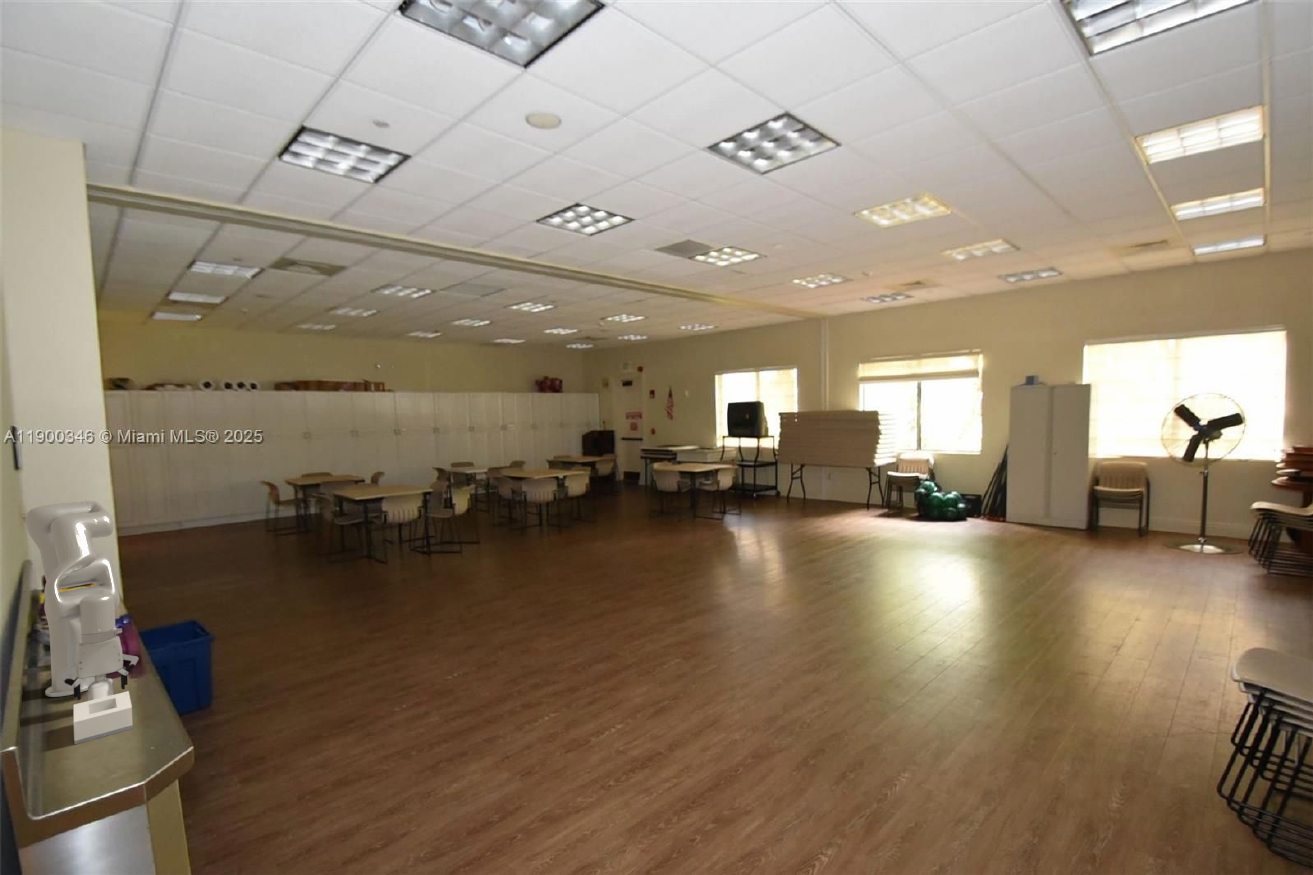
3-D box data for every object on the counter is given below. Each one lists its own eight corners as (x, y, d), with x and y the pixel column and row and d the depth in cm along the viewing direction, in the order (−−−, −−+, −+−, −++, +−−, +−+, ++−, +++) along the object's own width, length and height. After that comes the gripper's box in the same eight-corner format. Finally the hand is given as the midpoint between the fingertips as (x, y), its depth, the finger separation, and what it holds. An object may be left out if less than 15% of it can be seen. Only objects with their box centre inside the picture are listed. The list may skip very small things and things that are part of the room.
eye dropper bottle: (114, 706, 179) (112, 667, 178) (88, 713, 175) (86, 673, 174) (113, 701, 182) (112, 663, 181) (88, 708, 178) (86, 668, 178)
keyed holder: (74, 725, 168) (73, 704, 168) (129, 711, 176) (128, 691, 176) (74, 744, 158) (73, 722, 158) (132, 728, 166) (131, 707, 166)
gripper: (136, 626, 186) (138, 680, 187) (57, 641, 174) (60, 699, 175) (138, 631, 181) (140, 687, 181) (57, 647, 169) (60, 707, 169)
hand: (101, 693), depth 178 cm, fingers open, 9 cm apart
